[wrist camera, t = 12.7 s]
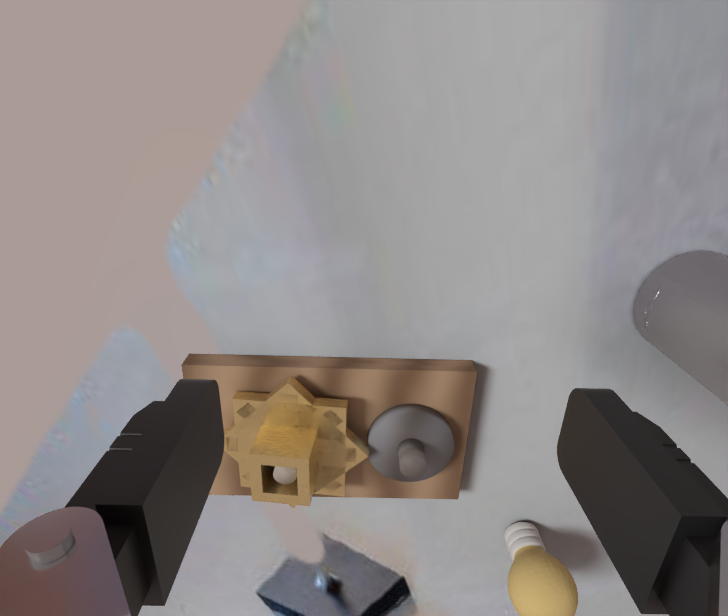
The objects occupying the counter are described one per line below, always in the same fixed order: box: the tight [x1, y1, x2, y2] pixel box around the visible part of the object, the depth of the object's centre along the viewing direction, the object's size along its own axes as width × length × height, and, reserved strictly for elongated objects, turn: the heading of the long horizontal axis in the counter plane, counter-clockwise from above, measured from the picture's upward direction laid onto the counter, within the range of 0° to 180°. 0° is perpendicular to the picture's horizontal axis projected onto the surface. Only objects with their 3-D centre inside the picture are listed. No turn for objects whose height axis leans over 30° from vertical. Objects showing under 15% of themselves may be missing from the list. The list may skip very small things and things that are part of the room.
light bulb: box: [504, 522, 578, 616], centre depth 46 cm, size 6×6×10 cm
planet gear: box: [224, 376, 369, 507], centre depth 40 cm, size 14×14×5 cm
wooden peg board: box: [182, 354, 477, 499], centre depth 42 cm, size 26×15×7 cm, turn 88°
